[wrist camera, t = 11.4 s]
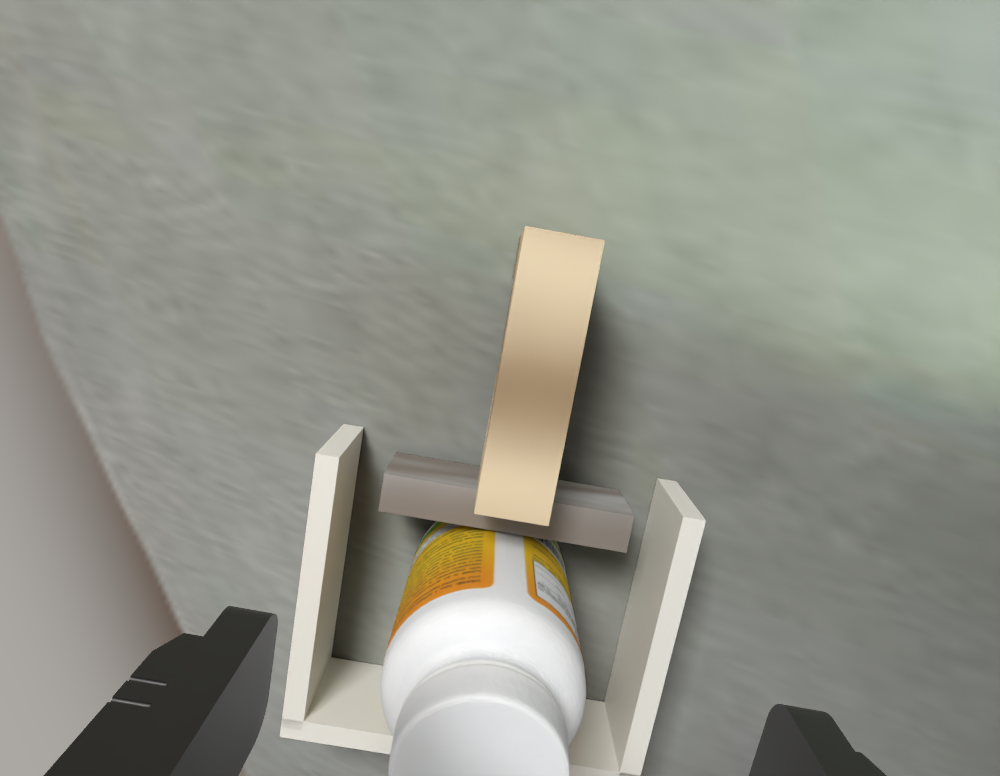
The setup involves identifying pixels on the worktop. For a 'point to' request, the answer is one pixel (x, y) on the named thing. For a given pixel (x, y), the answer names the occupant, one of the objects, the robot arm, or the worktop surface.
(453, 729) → the supplement bottle
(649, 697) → the box
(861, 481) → the worktop surface
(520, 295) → the scraper
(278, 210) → the worktop surface
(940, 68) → the worktop surface
